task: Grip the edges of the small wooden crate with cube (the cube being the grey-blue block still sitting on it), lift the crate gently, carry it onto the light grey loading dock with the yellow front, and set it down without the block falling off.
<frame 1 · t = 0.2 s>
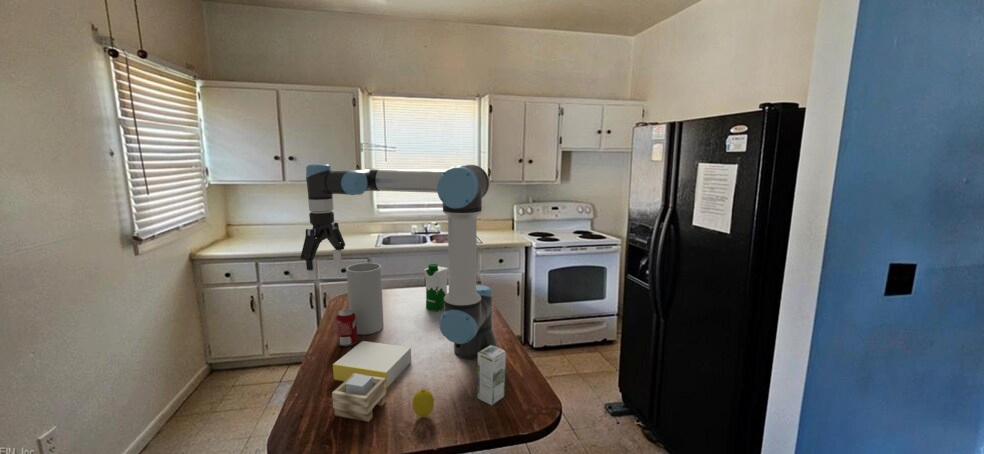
hand: (325, 273, 142), 28 cm above the table, tool pointing down, fingers open, 13 cm apart
wooden crate with cube: (361, 408, 114), on the table, touching cargo block
syrup box: (491, 398, 119), on the table
lemon: (423, 417, 111), on the table
soda can: (347, 343, 152), on the table
milk carton: (437, 307, 187), on the table
dock: (374, 369, 134), on the table
cargo block: (360, 393, 113), point 4 cm above the table, touching wooden crate with cube
cylinder vase: (367, 329, 164), on the table
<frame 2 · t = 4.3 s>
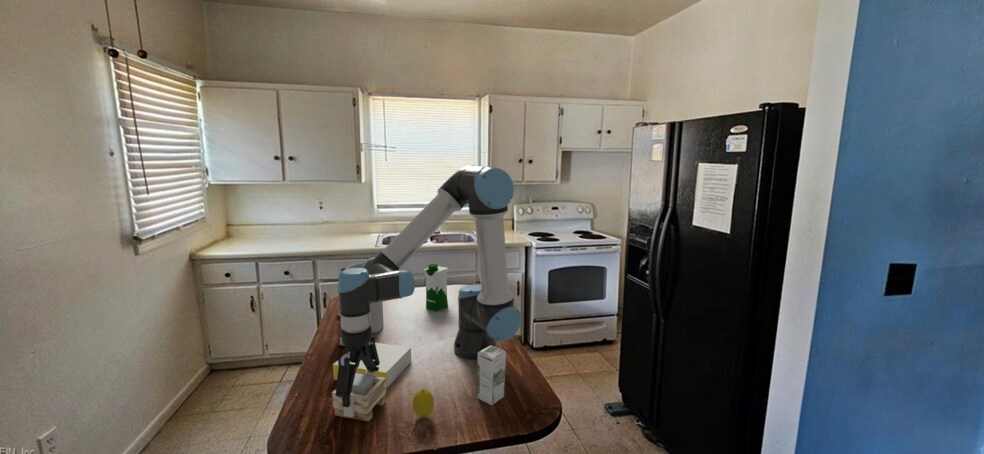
hand: (360, 403, 114), 1 cm above the table, tool pointing down, fingers closed on wooden crate with cube, 10 cm apart
wooden crate with cube: (361, 408, 114), on the table, touching cargo block, gripper
everything else where it was.
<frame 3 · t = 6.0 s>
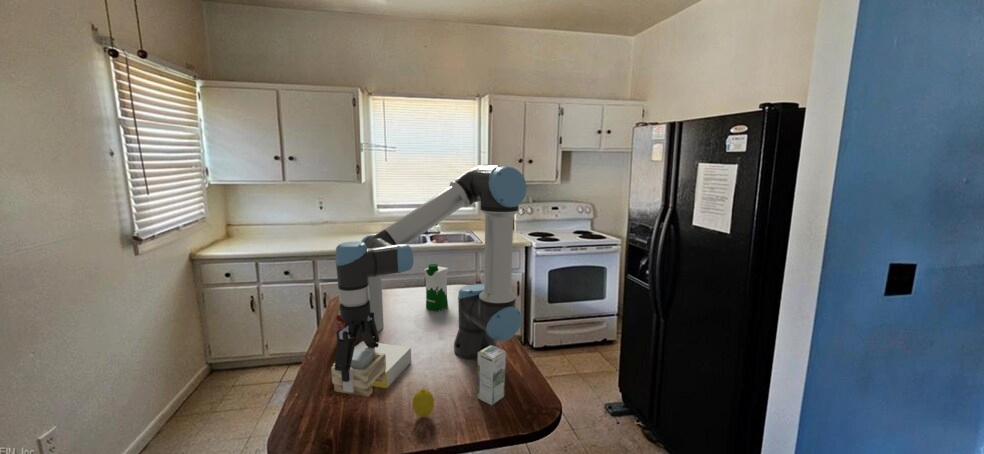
hand: (360, 379, 113), 8 cm above the table, tool pointing down, fingers closed on wooden crate with cube, 10 cm apart
wooden crate with cube: (360, 384, 113), point 7 cm above the table, touching cargo block, gripper
cargo block: (359, 369, 112), point 12 cm above the table, touching wooden crate with cube
everything else where it was.
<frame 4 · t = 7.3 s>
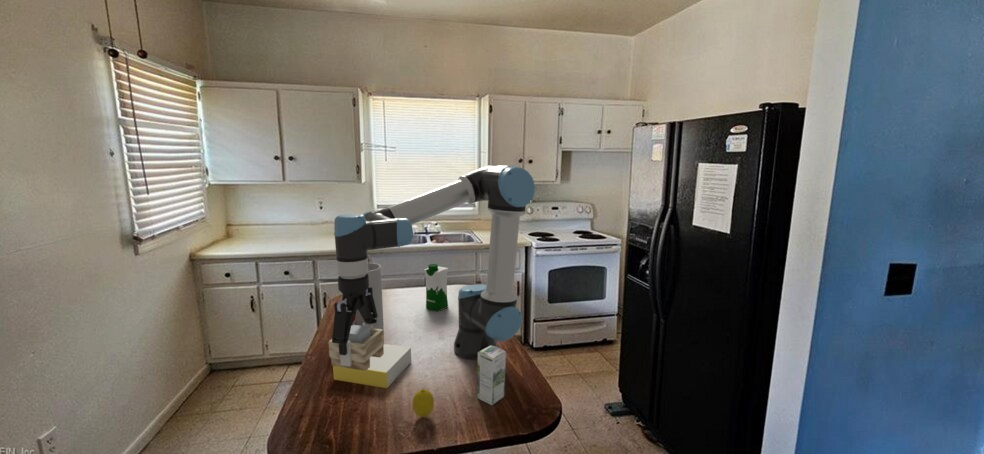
hand: (358, 355, 111), 16 cm above the table, tool pointing down, fingers closed on wooden crate with cube, 10 cm apart
wooden crate with cube: (358, 359, 112), point 14 cm above the table, touching cargo block, gripper
cargo block: (357, 343, 111), point 19 cm above the table, touching wooden crate with cube
everything else where it was.
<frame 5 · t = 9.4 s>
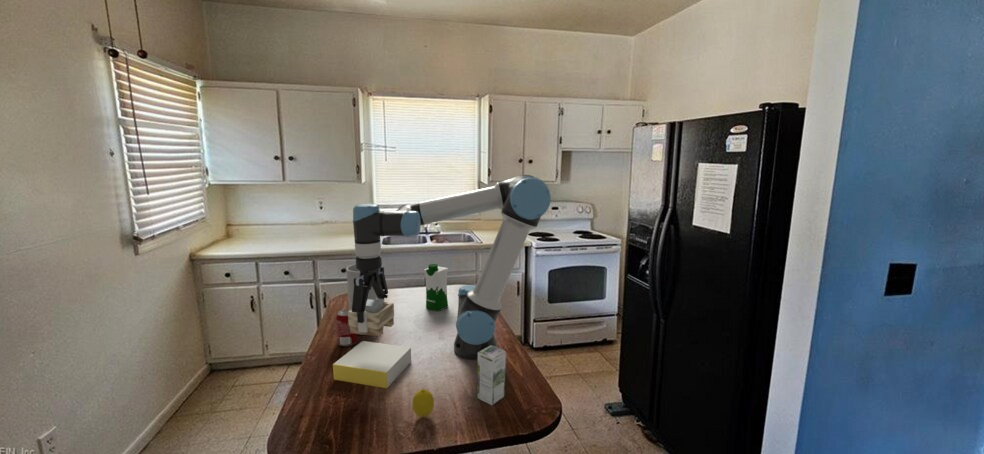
hand: (372, 324, 131), 16 cm above the table, tool pointing down, fingers closed on wooden crate with cube, 10 cm apart
wooden crate with cube: (372, 328, 131), point 14 cm above the table, touching cargo block, gripper
cargo block: (371, 314, 130), point 19 cm above the table, touching wooden crate with cube
everything else where it was.
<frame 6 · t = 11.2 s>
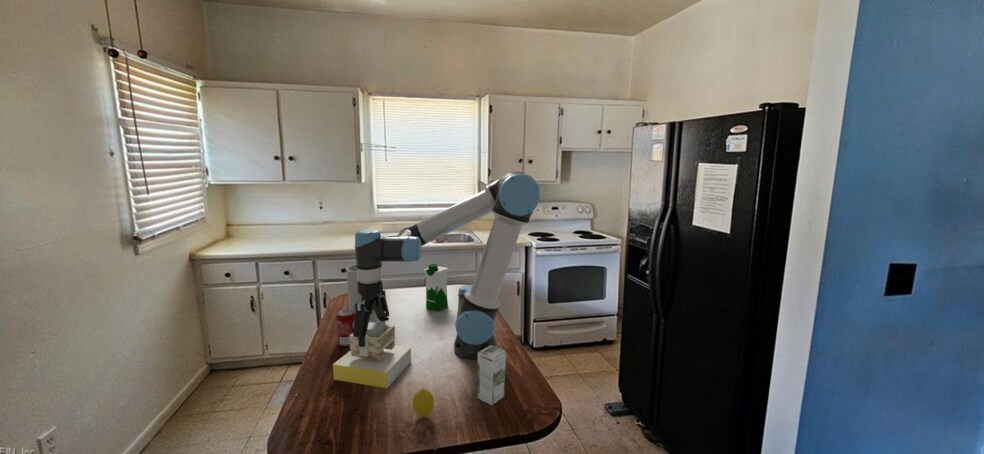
hand: (373, 347, 133), 8 cm above the table, tool pointing down, fingers closed on wooden crate with cube, 10 cm apart
wooden crate with cube: (373, 351, 133), point 6 cm above the table, touching cargo block, gripper
cargo block: (372, 338, 132), point 11 cm above the table, touching wooden crate with cube
everything else where it was.
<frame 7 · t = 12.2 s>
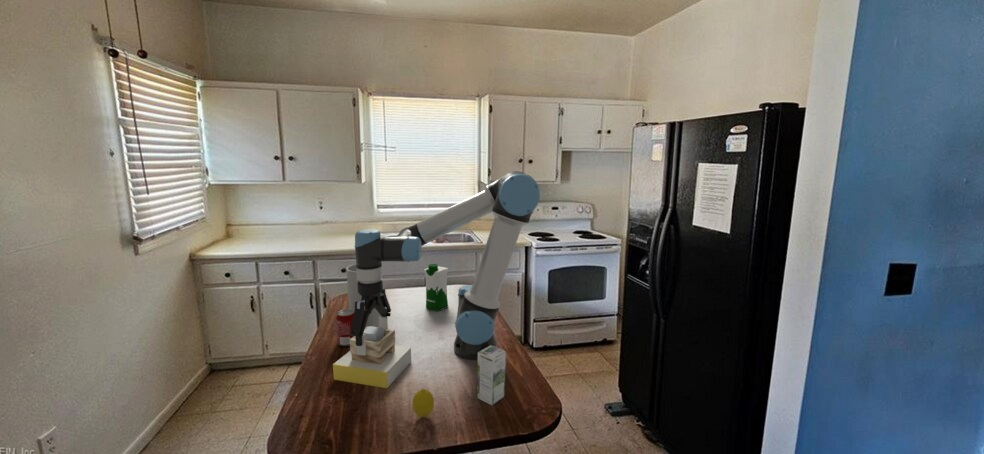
hand: (373, 344, 132), 9 cm above the table, tool pointing down, fingers open, 13 cm apart
wooden crate with cube: (373, 355, 133), point 5 cm above the table, touching cargo block, dock
cargo block: (373, 342, 132), point 9 cm above the table, touching wooden crate with cube
everything else where it was.
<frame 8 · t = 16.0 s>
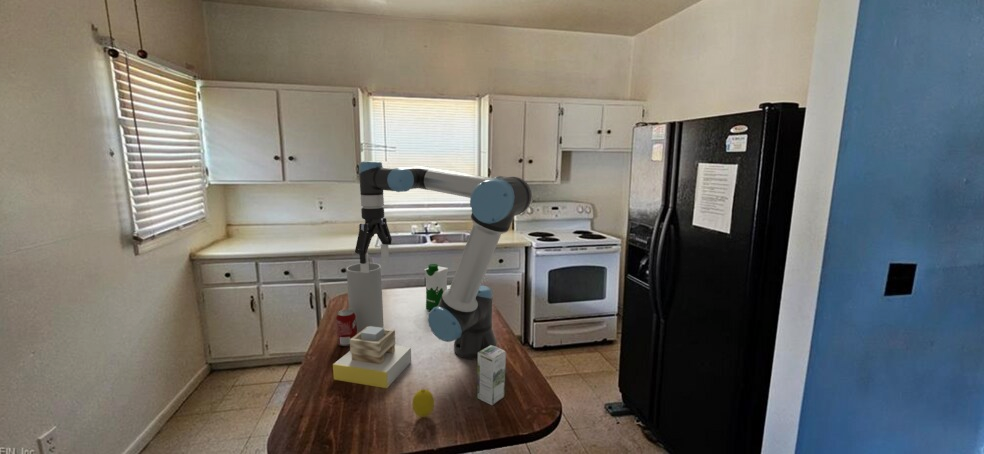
hand: (375, 267, 147), 29 cm above the table, tool pointing down, fingers open, 13 cm apart
nothing on the table moved.
at the end: wooden crate with cube inside the target area on the dock (0.0 cm from its centre), point 5.0 cm above the dock's base; cargo block 0.0 cm off-centre on the wooden crate with cube, point 4.5 cm above the wooden crate with cube's base; the gripper is holding nothing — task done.
